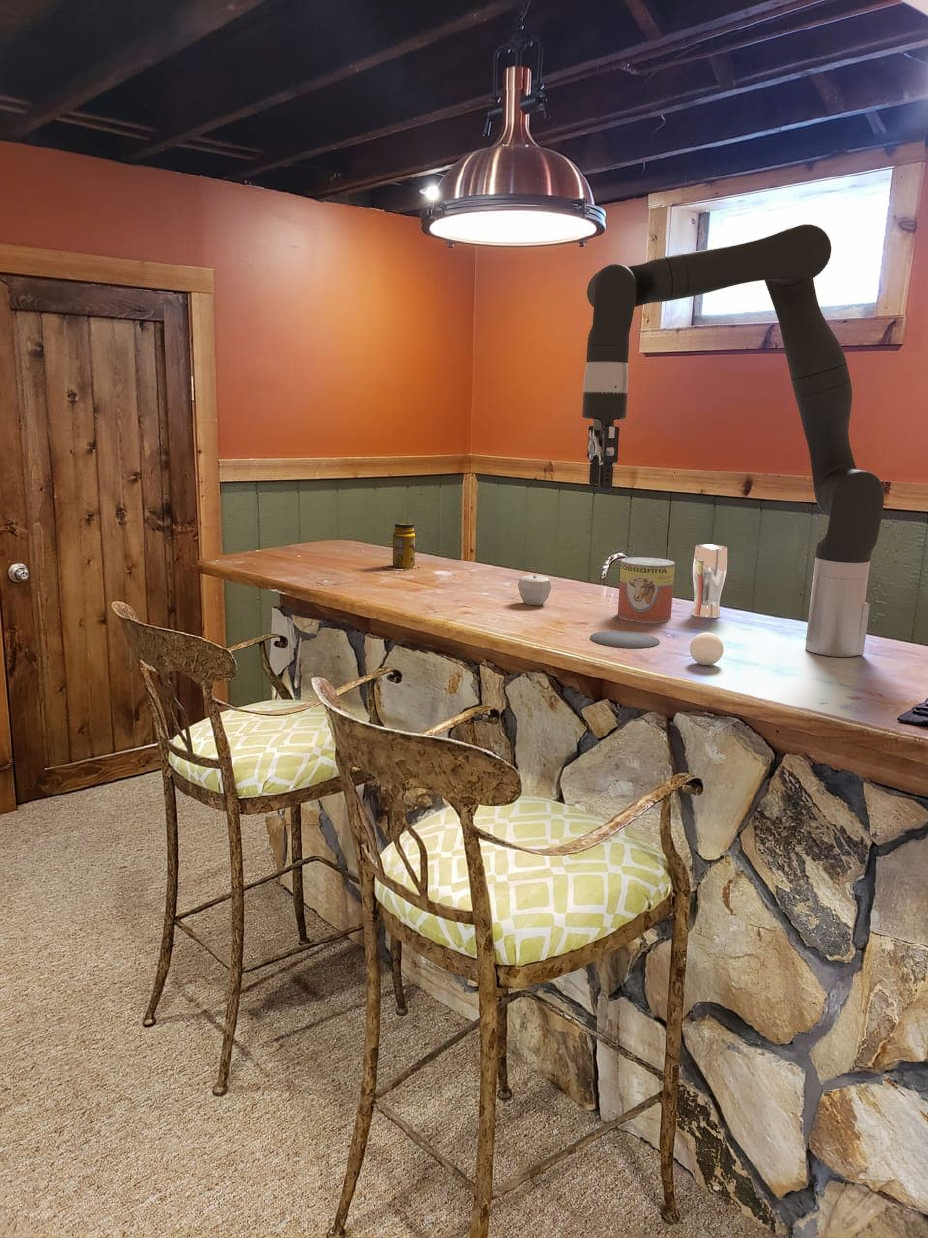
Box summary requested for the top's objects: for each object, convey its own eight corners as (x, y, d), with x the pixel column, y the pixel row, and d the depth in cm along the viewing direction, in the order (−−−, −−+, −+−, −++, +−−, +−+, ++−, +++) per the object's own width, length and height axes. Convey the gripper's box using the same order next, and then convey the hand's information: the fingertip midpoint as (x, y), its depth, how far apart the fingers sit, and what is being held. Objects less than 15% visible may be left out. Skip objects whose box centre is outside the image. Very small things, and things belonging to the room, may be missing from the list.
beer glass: (697, 610, 202) (703, 543, 198) (727, 615, 197) (733, 546, 194) (683, 615, 196) (689, 546, 193) (713, 620, 192) (720, 549, 189)
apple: (510, 601, 207) (511, 572, 205) (541, 599, 209) (543, 571, 208) (524, 608, 199) (526, 579, 198) (557, 606, 202) (558, 577, 201)
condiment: (421, 568, 249) (422, 524, 246) (397, 571, 243) (398, 526, 240) (404, 564, 254) (404, 521, 251) (380, 567, 248) (380, 523, 245)
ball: (715, 660, 160) (718, 629, 159) (726, 669, 155) (729, 637, 153) (684, 660, 160) (687, 629, 158) (694, 669, 154) (696, 636, 153)
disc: (649, 632, 180) (649, 631, 180) (667, 648, 167) (667, 647, 167) (584, 631, 179) (584, 630, 179) (597, 648, 167) (597, 646, 167)
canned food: (612, 619, 191) (616, 562, 188) (622, 609, 201) (625, 555, 198) (667, 625, 187) (671, 567, 184) (674, 614, 197) (678, 559, 195)
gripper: (637, 390, 149) (630, 490, 152) (617, 392, 163) (612, 483, 166) (591, 388, 148) (586, 489, 152) (576, 391, 162) (571, 483, 166)
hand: (600, 486), depth 159 cm, fingers open, 8 cm apart
